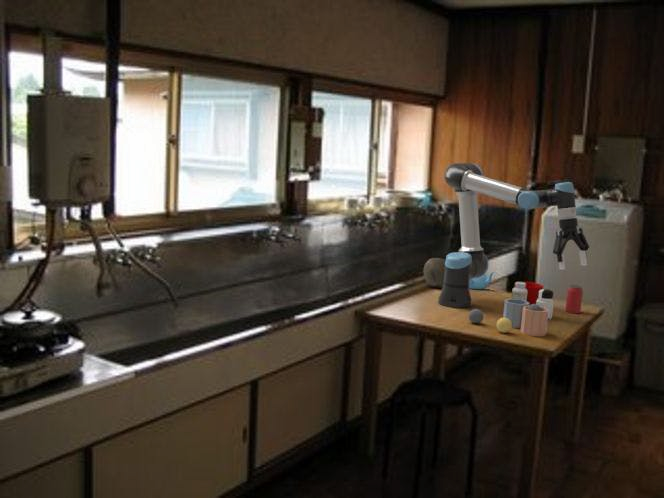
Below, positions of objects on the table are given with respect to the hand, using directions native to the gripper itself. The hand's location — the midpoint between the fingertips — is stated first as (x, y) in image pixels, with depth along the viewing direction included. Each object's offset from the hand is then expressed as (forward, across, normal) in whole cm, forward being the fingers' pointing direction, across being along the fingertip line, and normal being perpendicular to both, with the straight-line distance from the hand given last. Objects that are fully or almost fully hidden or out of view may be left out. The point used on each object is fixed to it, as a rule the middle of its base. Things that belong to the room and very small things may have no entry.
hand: (573, 267), depth 317 cm
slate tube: (+20, -31, +7) cm, 38 cm away
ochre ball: (+21, -44, 0) cm, 49 cm away
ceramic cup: (+17, +4, +34) cm, 38 cm away
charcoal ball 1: (+17, -45, +15) cm, 51 cm away
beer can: (+22, +15, +16) cm, 31 cm away
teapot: (+10, +5, +70) cm, 71 cm away
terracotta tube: (+23, -32, -4) cm, 40 cm away
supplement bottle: (+18, -10, +26) cm, 33 cm away
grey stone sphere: (+7, -14, +77) cm, 79 cm away
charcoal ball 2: (+17, -32, -6) cm, 37 cm away
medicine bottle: (+21, -6, +14) cm, 26 cm away
